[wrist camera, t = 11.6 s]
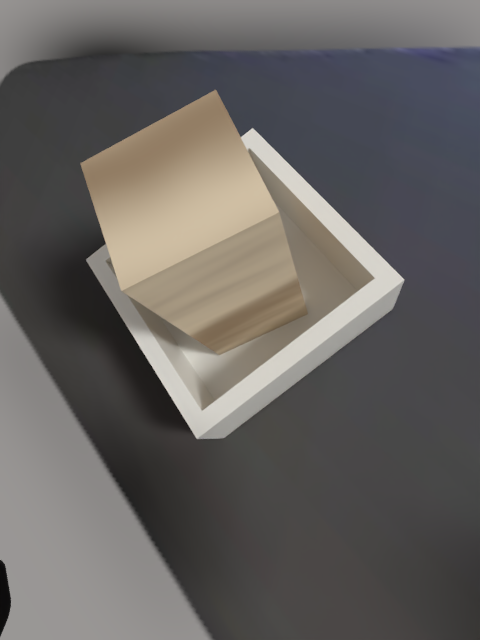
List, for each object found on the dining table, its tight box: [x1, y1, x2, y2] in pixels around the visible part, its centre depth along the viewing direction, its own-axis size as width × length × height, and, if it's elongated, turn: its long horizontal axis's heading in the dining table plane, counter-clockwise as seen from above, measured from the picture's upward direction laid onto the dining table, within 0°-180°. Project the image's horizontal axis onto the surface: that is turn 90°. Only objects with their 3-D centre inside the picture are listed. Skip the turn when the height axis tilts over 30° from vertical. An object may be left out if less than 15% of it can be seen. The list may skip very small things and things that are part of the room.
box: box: [86, 128, 404, 439], centre depth 20 cm, size 11×11×4 cm
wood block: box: [80, 90, 308, 355], centre depth 17 cm, size 5×5×10 cm
